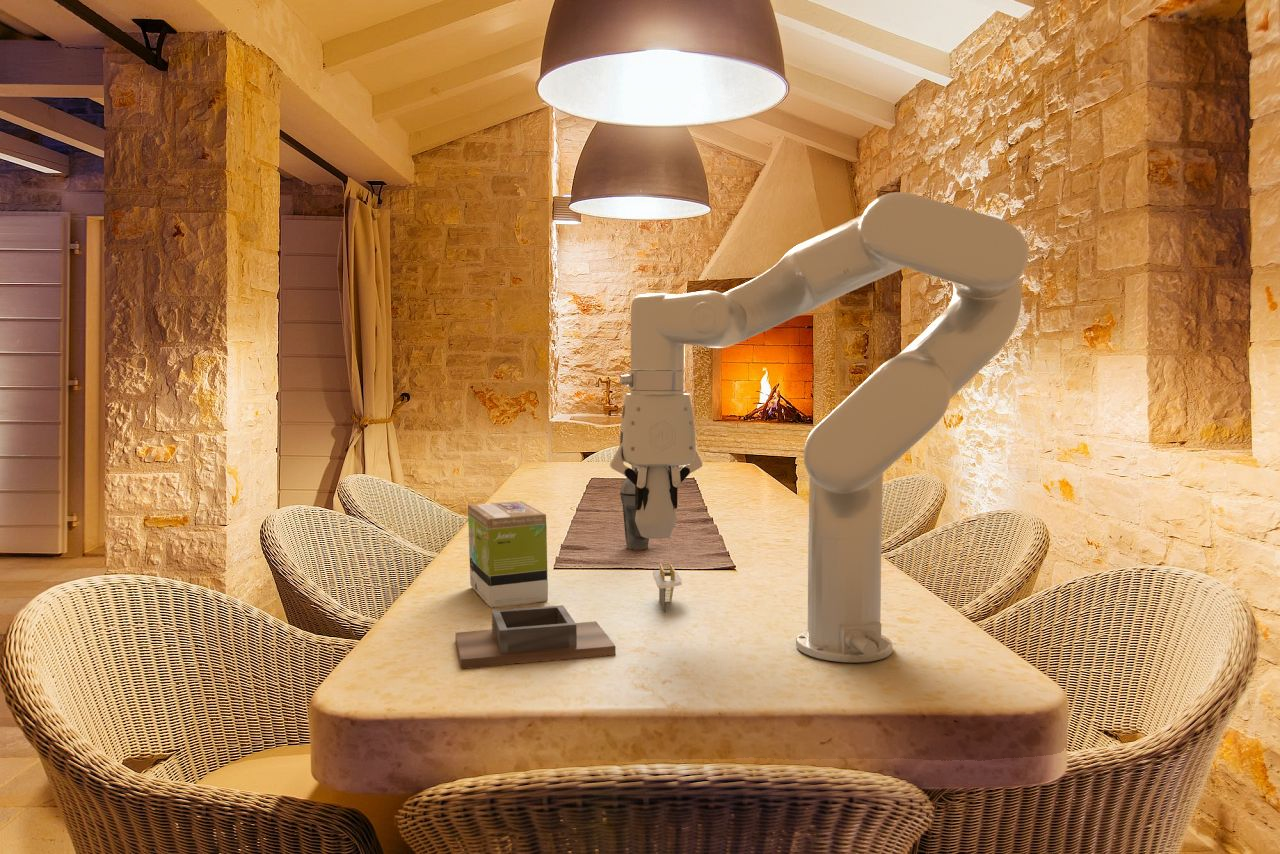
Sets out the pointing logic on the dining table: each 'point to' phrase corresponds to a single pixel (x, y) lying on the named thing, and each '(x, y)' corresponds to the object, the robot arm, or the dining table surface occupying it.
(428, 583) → the dining table surface
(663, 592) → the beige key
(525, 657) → the stand
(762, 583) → the dining table surface
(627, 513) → the beverage cup
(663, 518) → the salt shaker
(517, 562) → the tea box
